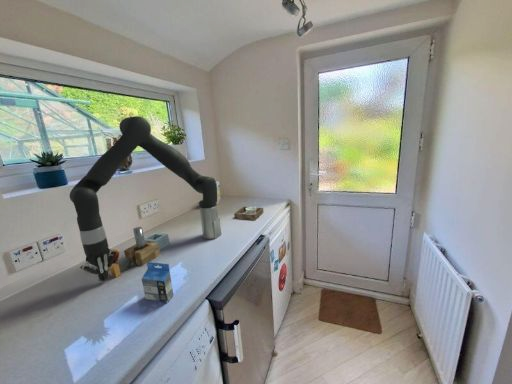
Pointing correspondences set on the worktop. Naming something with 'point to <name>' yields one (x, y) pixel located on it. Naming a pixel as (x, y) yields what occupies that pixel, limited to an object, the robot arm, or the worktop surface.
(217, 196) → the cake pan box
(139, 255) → the socket block
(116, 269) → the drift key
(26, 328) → the worktop surface
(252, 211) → the teacup
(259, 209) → the cup corral
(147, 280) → the blue retail carton
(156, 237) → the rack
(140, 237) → the peg
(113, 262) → the fruit
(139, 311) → the worktop surface
